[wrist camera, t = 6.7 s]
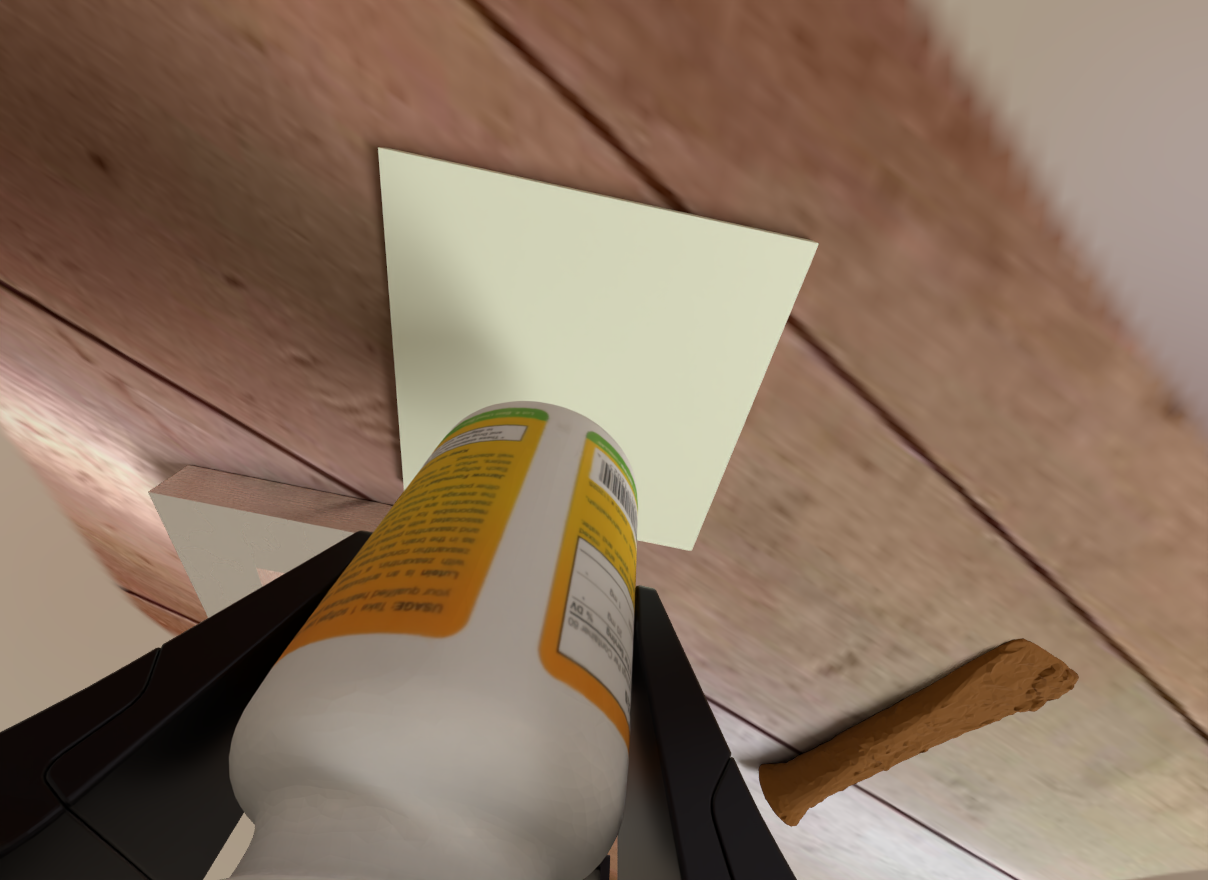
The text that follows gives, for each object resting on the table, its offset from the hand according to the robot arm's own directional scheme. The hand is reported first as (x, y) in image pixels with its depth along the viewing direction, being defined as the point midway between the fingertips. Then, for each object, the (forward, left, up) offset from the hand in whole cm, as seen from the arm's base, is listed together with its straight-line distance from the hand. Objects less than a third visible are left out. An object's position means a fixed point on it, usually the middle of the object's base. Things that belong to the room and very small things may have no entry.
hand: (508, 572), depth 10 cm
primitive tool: (-17, -22, -10) cm, 30 cm away
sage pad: (0, 0, -9) cm, 9 cm away
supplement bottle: (0, 0, -3) cm, 3 cm away
